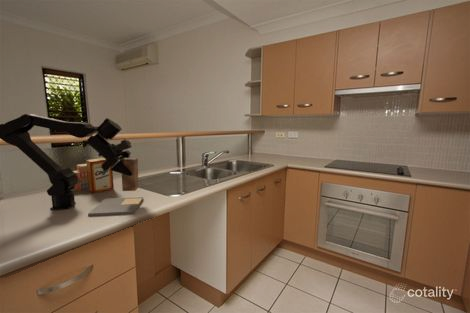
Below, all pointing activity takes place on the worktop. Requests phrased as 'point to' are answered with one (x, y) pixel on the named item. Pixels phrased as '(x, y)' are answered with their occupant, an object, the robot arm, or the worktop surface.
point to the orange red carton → (81, 178)
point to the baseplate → (116, 206)
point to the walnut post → (131, 181)
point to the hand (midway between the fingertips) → (133, 173)
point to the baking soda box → (99, 176)
